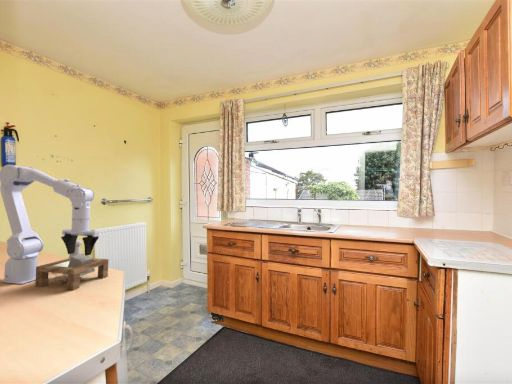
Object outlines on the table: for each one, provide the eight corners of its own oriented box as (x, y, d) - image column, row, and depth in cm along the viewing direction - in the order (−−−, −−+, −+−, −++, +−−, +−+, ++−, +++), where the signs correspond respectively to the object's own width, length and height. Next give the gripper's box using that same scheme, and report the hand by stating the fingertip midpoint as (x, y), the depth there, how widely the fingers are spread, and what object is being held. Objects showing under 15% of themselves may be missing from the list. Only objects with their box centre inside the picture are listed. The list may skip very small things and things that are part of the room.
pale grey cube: (67, 268, 95) (71, 256, 94) (78, 265, 99) (82, 253, 99) (77, 274, 94) (82, 261, 94) (88, 270, 99) (92, 258, 98)
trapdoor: (50, 268, 93) (51, 265, 93) (74, 261, 103) (75, 259, 103) (72, 279, 91) (73, 276, 91) (94, 271, 101) (95, 268, 101)
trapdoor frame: (35, 286, 90) (36, 266, 91) (74, 273, 106) (75, 256, 106) (73, 290, 88) (74, 270, 88) (107, 276, 103) (108, 259, 104)
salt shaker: (74, 272, 107) (75, 241, 108) (63, 271, 109) (64, 240, 109) (85, 268, 113) (87, 239, 113) (75, 267, 114) (76, 238, 114)
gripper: (55, 219, 94) (53, 255, 94) (88, 220, 92) (87, 258, 92) (72, 217, 101) (70, 251, 101) (103, 219, 99) (102, 253, 99)
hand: (79, 254), depth 97 cm, fingers open, 7 cm apart
